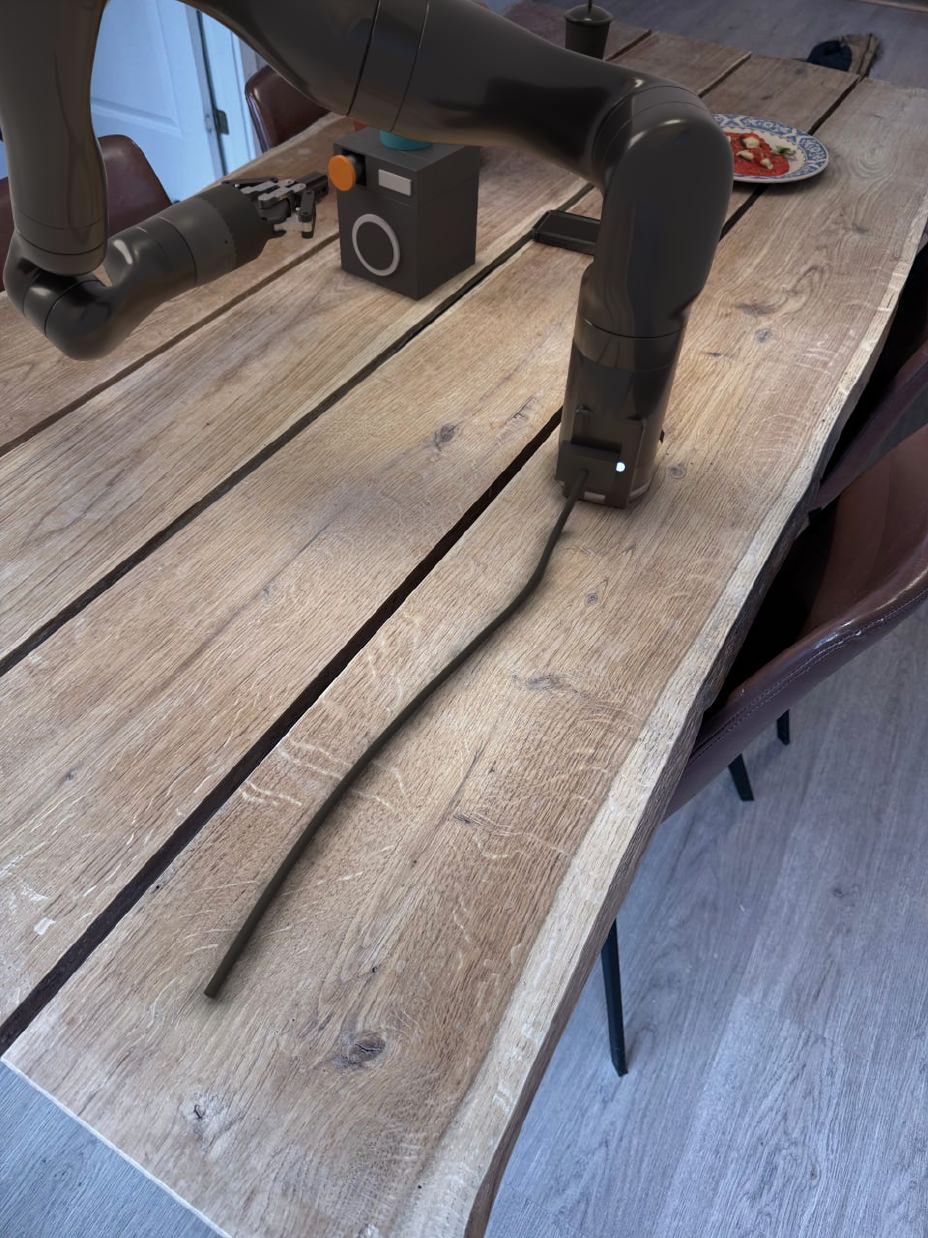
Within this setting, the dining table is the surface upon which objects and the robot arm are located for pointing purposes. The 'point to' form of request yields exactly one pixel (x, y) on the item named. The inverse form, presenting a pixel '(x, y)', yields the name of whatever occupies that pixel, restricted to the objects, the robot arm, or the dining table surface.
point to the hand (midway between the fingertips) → (323, 181)
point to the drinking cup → (587, 30)
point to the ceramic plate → (771, 150)
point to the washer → (409, 213)
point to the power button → (347, 170)
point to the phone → (567, 231)
